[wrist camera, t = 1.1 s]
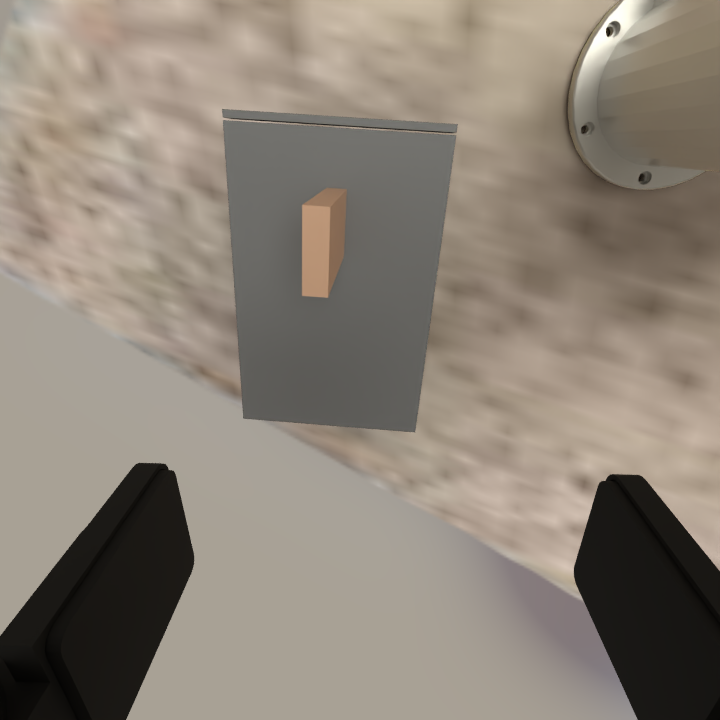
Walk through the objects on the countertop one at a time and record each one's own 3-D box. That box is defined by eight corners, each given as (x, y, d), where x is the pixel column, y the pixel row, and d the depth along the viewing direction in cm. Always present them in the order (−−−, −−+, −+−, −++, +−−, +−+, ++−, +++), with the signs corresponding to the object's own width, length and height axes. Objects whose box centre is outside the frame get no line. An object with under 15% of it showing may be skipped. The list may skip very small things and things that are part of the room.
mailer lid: (232, 111, 26) (148, 93, 17) (453, 125, 26) (490, 114, 17) (250, 405, 36) (201, 497, 26) (413, 418, 35) (423, 516, 26)
